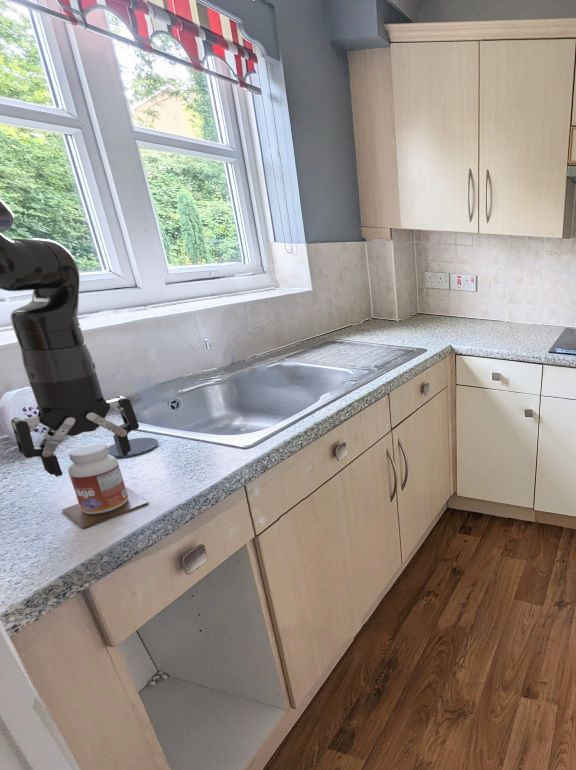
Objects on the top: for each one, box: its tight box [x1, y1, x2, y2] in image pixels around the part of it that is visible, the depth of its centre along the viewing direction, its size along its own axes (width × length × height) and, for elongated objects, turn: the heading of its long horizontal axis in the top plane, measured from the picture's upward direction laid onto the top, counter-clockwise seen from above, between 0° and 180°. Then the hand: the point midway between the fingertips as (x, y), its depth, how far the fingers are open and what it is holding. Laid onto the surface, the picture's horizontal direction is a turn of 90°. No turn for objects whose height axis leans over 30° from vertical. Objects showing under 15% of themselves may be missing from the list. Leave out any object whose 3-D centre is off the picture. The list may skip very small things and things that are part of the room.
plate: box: [107, 437, 159, 459], centre depth 100 cm, size 9×9×1 cm
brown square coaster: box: [61, 486, 150, 530], centre depth 80 cm, size 9×9×1 cm
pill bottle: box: [67, 442, 128, 514], centre depth 78 cm, size 6×6×11 cm
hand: (91, 464), depth 77 cm, fingers open, 8 cm apart
